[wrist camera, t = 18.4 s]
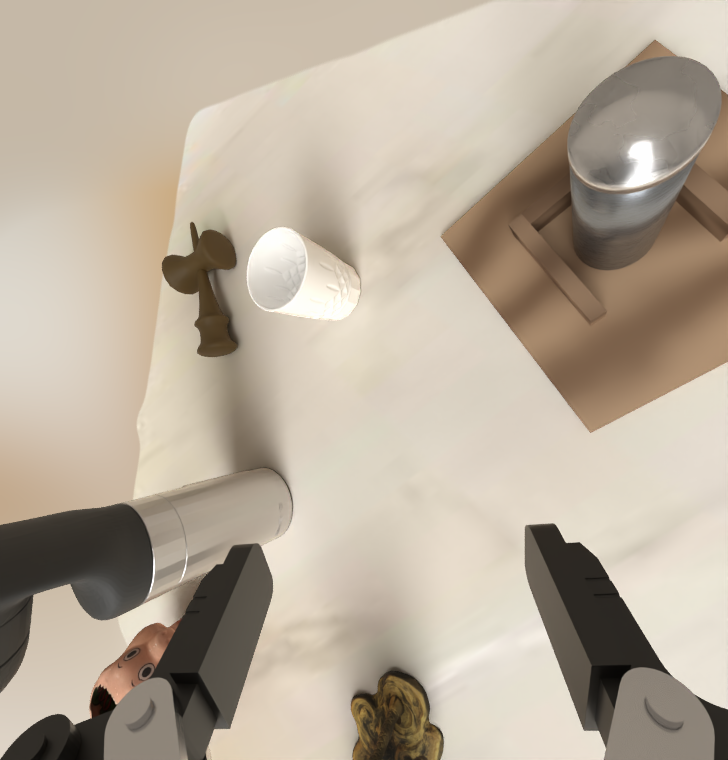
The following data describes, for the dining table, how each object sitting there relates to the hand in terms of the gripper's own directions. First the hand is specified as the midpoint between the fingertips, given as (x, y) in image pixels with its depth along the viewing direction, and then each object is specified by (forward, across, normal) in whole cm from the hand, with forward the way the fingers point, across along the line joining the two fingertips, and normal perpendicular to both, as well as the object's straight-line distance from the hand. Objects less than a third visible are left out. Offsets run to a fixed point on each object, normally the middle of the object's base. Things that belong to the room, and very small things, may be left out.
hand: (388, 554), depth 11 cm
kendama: (+45, +25, -4) cm, 52 cm away
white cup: (+35, +6, -2) cm, 36 cm away
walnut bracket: (+24, -18, -5) cm, 31 cm away
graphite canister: (+24, -18, -5) cm, 30 cm away
